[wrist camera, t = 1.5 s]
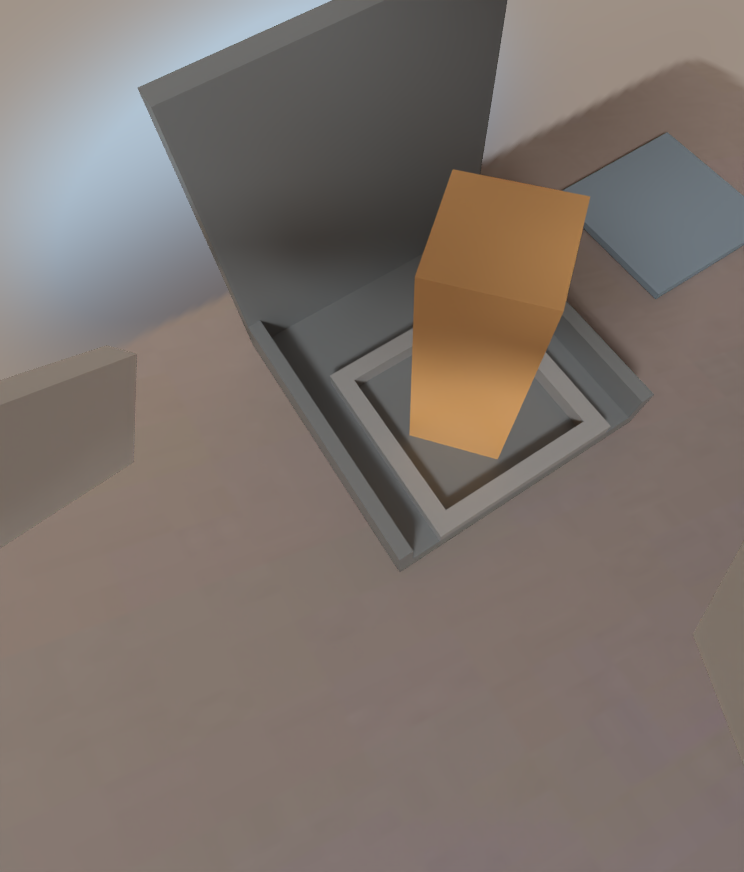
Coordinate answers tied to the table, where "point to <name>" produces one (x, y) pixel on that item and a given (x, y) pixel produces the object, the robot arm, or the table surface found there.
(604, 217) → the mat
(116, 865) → the table surface
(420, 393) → the module
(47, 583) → the table surface
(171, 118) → the case
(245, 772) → the table surface
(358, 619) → the table surface
